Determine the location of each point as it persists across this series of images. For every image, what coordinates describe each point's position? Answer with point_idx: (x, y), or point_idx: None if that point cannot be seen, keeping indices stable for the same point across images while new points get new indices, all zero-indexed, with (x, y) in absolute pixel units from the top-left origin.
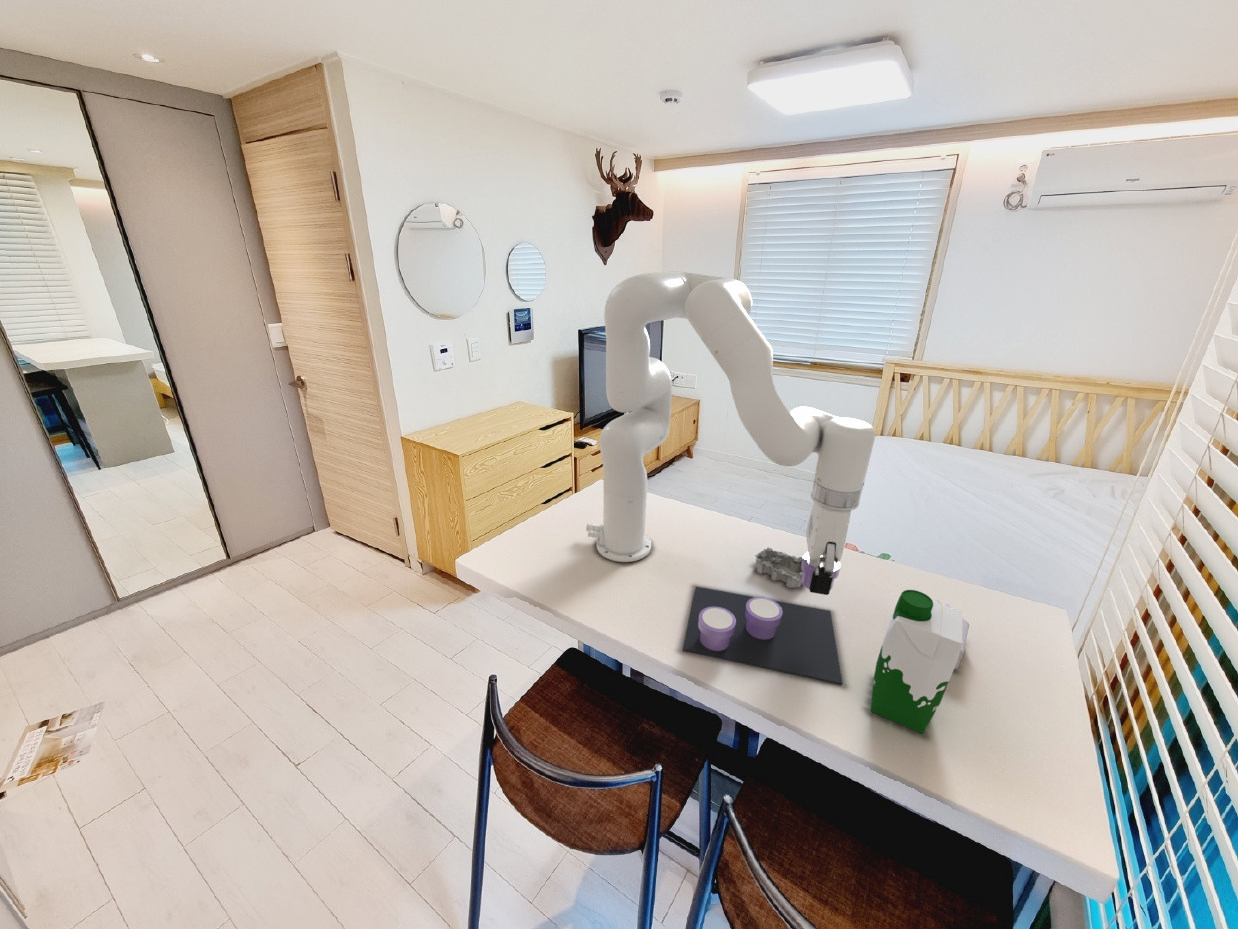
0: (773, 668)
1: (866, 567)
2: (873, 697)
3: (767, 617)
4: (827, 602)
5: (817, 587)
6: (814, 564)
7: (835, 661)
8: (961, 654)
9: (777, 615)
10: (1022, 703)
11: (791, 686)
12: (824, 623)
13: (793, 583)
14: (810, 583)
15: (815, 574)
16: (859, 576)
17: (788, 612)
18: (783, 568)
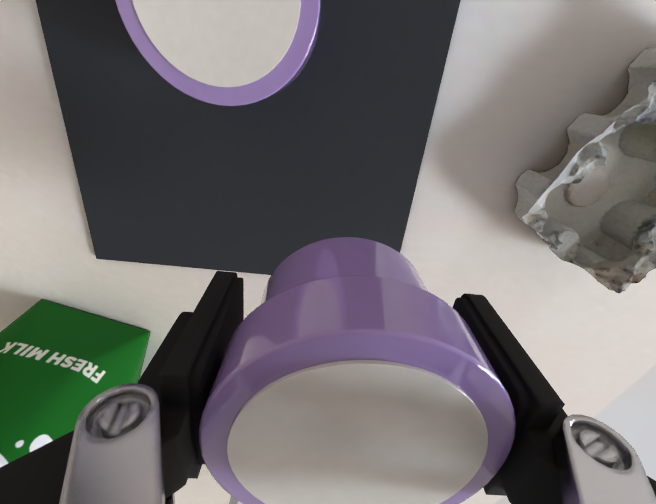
0: (48, 49)
1: (587, 402)
2: (18, 324)
3: (137, 3)
4: (436, 285)
5: (173, 331)
6: (279, 411)
7: (172, 258)
8: (230, 500)
9: (182, 71)
10: (198, 500)
11: (12, 109)
12: None
13: (527, 197)
14: (223, 297)
15: (131, 391)
16: (550, 381)
17: (368, 154)
18: (639, 174)
